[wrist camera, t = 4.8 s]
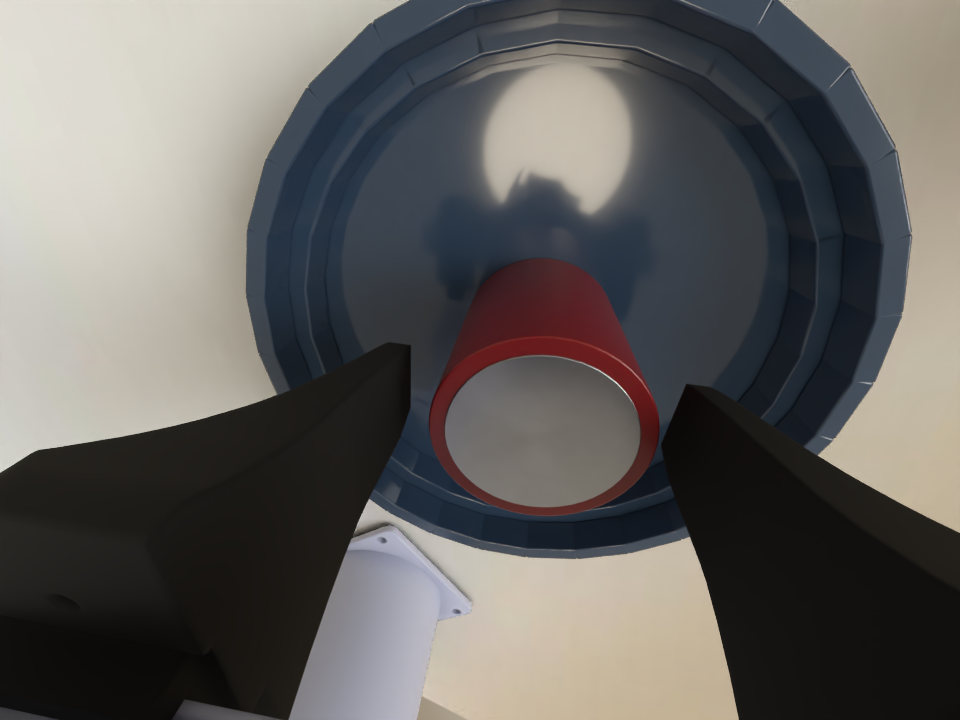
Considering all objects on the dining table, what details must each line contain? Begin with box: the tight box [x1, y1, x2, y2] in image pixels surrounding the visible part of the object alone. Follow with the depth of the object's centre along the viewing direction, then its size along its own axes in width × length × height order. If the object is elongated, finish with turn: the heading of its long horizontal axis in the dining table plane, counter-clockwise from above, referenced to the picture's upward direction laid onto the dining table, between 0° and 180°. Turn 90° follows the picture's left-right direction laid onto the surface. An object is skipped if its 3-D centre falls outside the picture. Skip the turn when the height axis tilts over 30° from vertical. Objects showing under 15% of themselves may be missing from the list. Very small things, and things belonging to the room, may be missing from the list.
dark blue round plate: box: [246, 0, 912, 559], centre depth 13 cm, size 18×18×3 cm
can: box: [429, 258, 660, 516], centre depth 12 cm, size 5×5×6 cm
